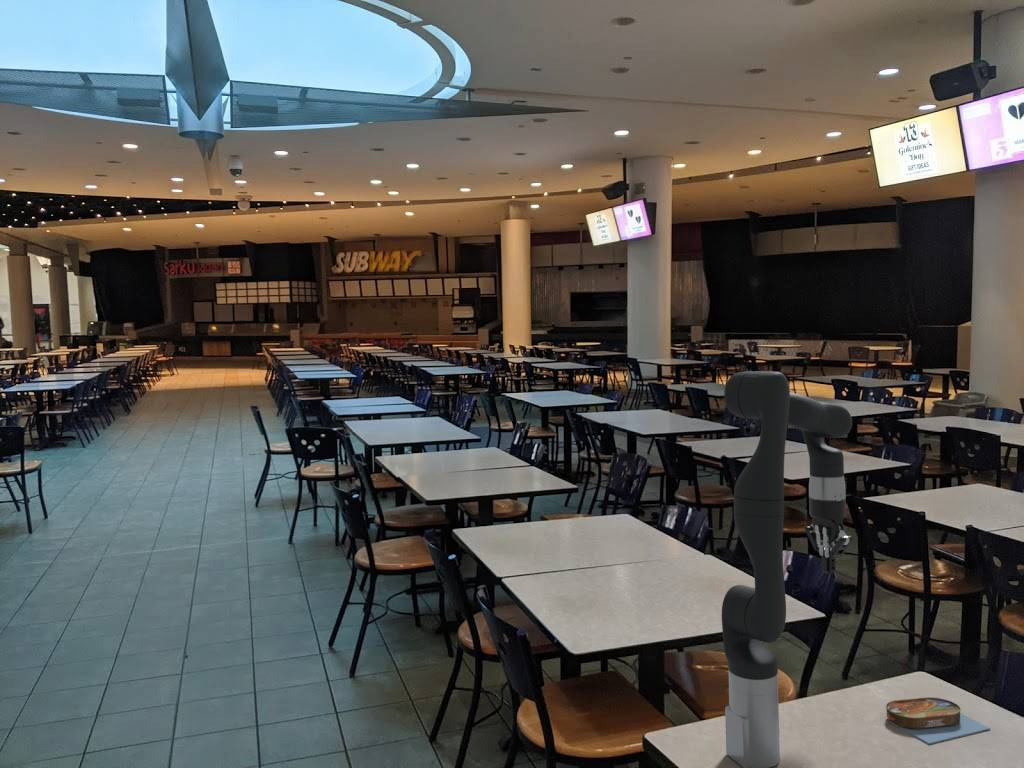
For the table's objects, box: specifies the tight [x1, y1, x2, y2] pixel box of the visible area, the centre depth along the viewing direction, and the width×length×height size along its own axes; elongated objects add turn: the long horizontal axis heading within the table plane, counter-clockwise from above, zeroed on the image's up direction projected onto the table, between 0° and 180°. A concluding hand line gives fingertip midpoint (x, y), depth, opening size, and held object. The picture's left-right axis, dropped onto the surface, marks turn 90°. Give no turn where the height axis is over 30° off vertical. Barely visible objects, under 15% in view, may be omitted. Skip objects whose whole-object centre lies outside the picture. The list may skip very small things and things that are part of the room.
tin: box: [885, 696, 961, 729], centre depth 167 cm, size 15×3×8 cm
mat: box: [889, 712, 991, 746], centre depth 164 cm, size 16×10×1 cm, turn 108°
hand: (828, 572), depth 176 cm, fingers closed
